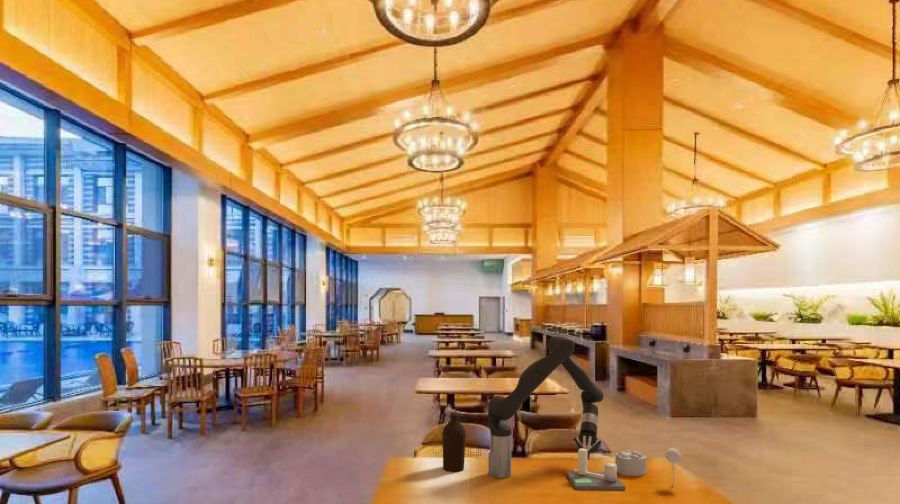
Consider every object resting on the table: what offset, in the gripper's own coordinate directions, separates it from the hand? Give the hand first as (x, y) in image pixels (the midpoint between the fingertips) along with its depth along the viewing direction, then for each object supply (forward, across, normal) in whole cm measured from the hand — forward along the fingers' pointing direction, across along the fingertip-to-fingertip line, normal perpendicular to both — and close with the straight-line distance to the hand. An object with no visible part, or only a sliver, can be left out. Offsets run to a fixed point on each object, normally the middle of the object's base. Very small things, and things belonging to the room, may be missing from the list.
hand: (585, 459), depth 236 cm
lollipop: (+4, +36, +4) cm, 36 cm away
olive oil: (+17, -56, -8) cm, 59 cm away
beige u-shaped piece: (+8, +5, -3) cm, 10 cm away
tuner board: (+11, +5, -2) cm, 12 cm away
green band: (+14, +1, -8) cm, 16 cm away
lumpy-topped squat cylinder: (-4, +19, +12) cm, 23 cm away
